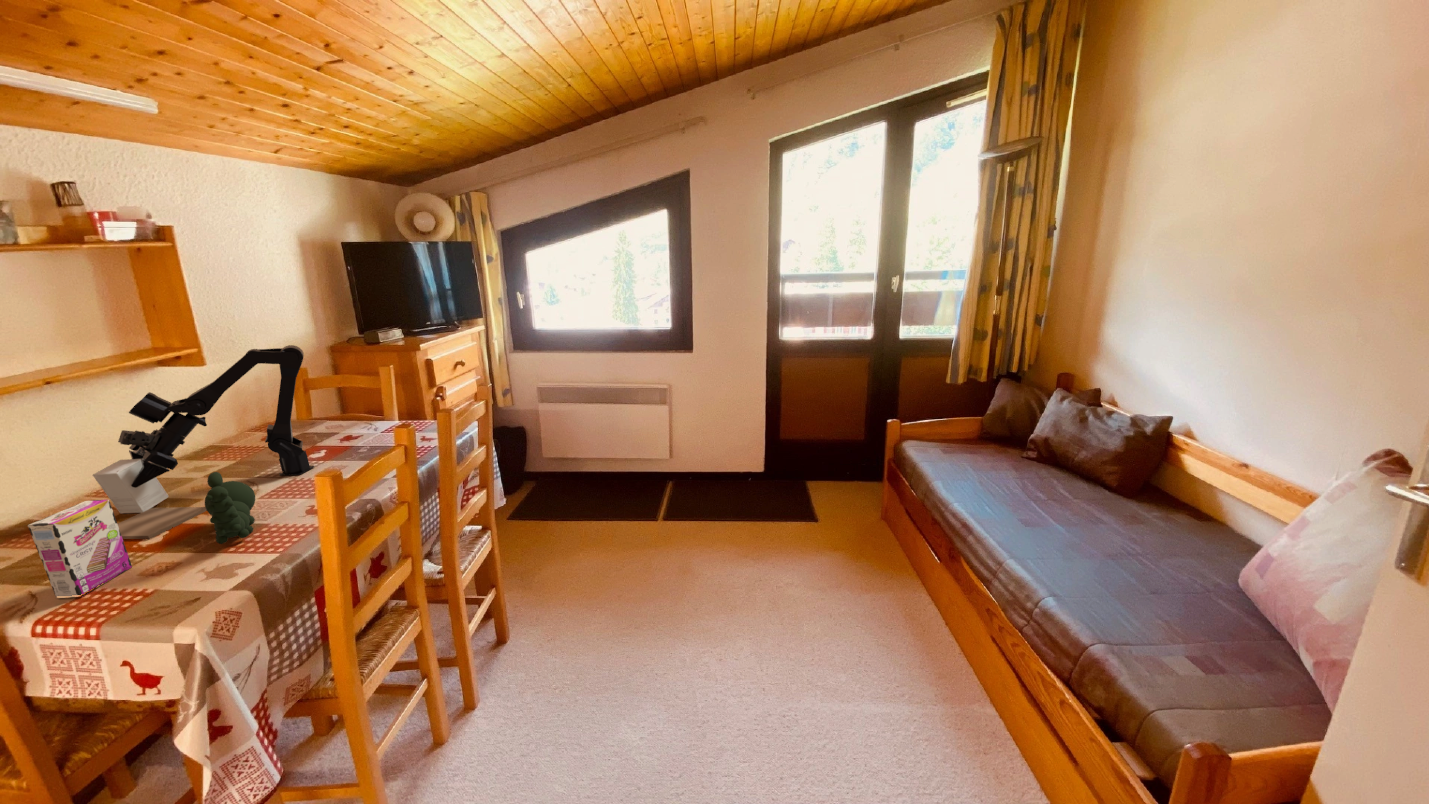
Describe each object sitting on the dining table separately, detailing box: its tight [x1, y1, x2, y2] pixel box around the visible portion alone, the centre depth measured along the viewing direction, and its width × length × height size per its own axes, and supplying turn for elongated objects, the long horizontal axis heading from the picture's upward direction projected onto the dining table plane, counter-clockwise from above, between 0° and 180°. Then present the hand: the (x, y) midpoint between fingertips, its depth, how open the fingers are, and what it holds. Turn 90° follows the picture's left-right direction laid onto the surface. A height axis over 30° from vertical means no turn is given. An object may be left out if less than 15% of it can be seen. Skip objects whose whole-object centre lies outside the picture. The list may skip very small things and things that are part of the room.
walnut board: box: [117, 506, 207, 541], centre depth 138 cm, size 15×15×1 cm
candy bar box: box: [27, 499, 133, 598], centre depth 111 cm, size 11×5×16 cm, turn 5°
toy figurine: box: [204, 471, 256, 545], centre depth 131 cm, size 9×19×25 cm
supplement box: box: [92, 458, 169, 514], centre depth 145 cm, size 7×7×13 cm
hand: (128, 483), depth 144 cm, fingers closed on supplement box, 9 cm apart
